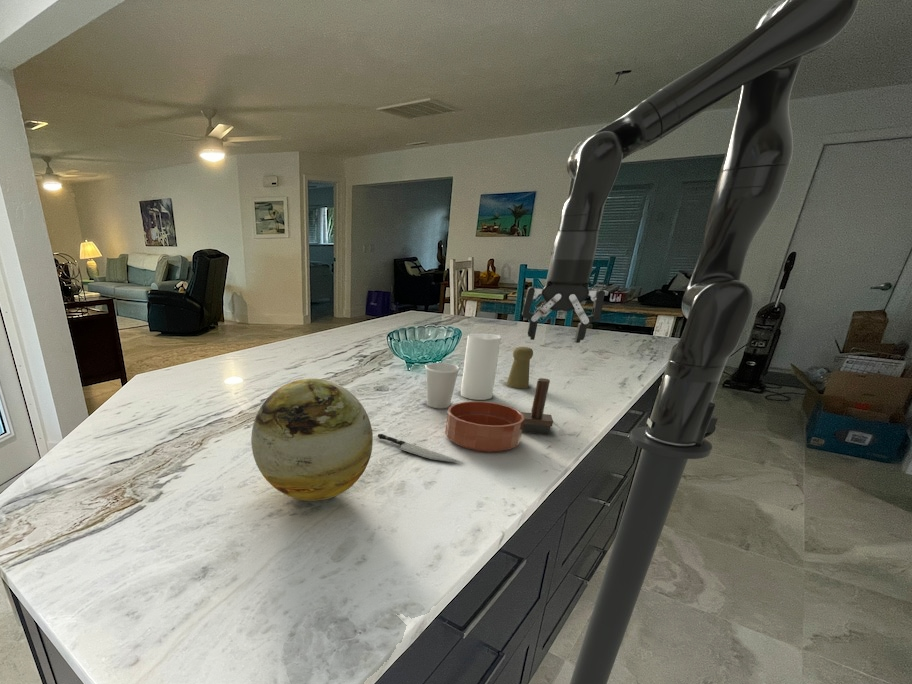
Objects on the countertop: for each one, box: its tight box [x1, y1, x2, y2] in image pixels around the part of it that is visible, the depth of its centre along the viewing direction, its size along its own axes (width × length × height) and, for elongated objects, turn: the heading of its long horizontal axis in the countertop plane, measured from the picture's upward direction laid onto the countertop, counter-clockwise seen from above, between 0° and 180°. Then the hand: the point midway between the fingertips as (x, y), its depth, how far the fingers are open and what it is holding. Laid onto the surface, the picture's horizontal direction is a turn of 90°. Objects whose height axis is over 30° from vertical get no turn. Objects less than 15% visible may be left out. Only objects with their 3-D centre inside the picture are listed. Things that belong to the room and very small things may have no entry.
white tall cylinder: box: [460, 332, 502, 401], centre depth 124 cm, size 8×8×16 cm
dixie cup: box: [424, 362, 460, 409], centre depth 119 cm, size 8×8×10 cm
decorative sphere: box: [250, 378, 374, 502], centre depth 77 cm, size 20×20×20 cm
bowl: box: [444, 400, 525, 453], centre depth 99 cm, size 15×15×6 cm
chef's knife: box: [377, 433, 461, 463], centre depth 95 cm, size 19×1×3 cm
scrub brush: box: [520, 377, 554, 436], centre depth 103 cm, size 6×4×12 cm
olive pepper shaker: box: [506, 346, 534, 389], centre depth 133 cm, size 6×6×11 cm
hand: (554, 340), depth 98 cm, fingers open, 8 cm apart
